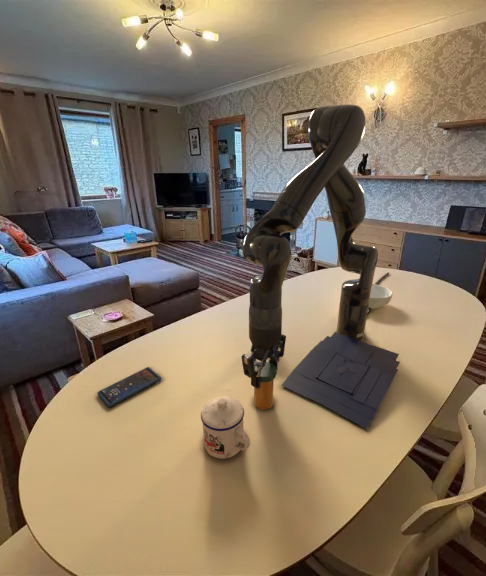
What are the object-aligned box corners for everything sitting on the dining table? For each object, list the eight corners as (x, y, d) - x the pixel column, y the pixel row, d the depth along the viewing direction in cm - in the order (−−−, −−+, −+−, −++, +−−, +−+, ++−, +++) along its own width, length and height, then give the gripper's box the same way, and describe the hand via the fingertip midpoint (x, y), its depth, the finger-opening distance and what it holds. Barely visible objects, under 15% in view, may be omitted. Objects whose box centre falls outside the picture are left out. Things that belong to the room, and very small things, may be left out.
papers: (404, 363, 92) (406, 354, 90) (366, 437, 72) (368, 426, 70) (329, 336, 106) (330, 328, 104) (280, 392, 86) (280, 382, 84)
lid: (246, 373, 76) (246, 368, 75) (264, 364, 79) (264, 358, 79) (263, 386, 72) (263, 380, 71) (281, 375, 75) (281, 369, 75)
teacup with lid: (194, 443, 68) (190, 402, 63) (225, 419, 74) (223, 380, 69) (233, 478, 60) (231, 434, 56) (263, 448, 67) (263, 406, 62)
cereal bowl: (393, 302, 134) (396, 287, 132) (385, 317, 121) (388, 301, 119) (354, 294, 143) (356, 280, 140) (343, 307, 130) (344, 292, 127)
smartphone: (161, 377, 87) (108, 406, 77) (162, 379, 87) (109, 408, 77) (148, 366, 92) (96, 391, 81) (148, 368, 92) (96, 394, 82)
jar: (262, 393, 82) (262, 362, 78) (276, 401, 79) (277, 370, 75) (250, 403, 79) (250, 371, 75) (265, 412, 76) (265, 380, 72)
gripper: (257, 339, 62) (257, 403, 69) (296, 314, 72) (293, 372, 79) (231, 326, 67) (233, 388, 73) (271, 305, 77) (270, 360, 83)
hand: (264, 379), depth 76 cm, fingers closed on lid, 6 cm apart
